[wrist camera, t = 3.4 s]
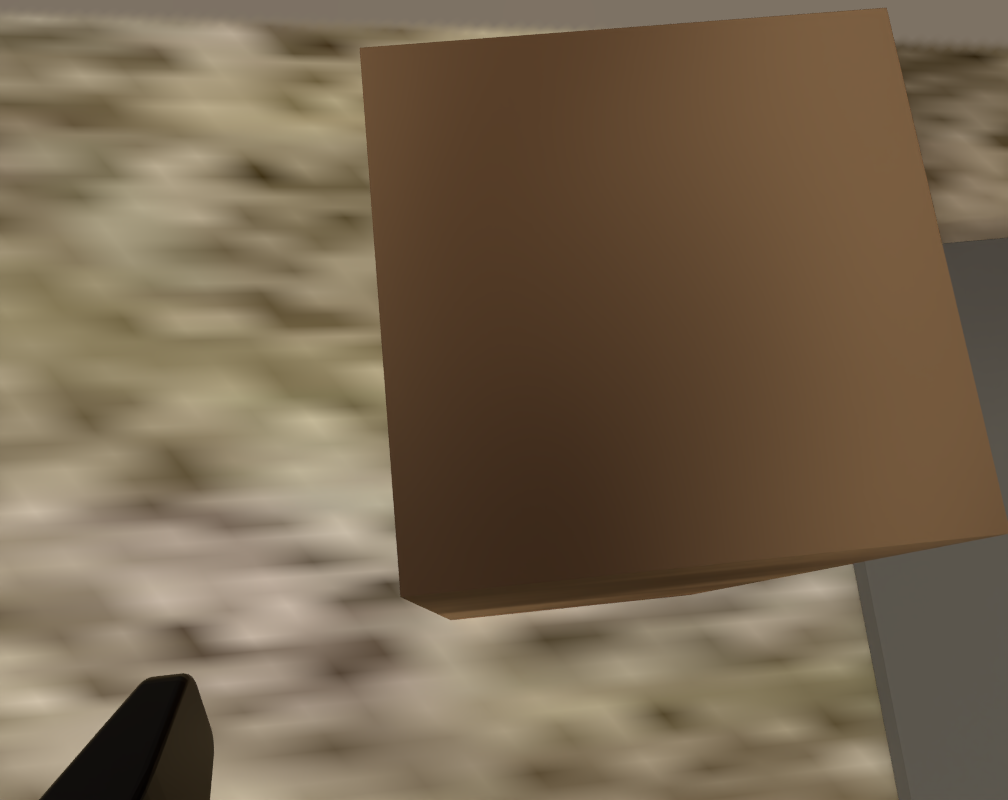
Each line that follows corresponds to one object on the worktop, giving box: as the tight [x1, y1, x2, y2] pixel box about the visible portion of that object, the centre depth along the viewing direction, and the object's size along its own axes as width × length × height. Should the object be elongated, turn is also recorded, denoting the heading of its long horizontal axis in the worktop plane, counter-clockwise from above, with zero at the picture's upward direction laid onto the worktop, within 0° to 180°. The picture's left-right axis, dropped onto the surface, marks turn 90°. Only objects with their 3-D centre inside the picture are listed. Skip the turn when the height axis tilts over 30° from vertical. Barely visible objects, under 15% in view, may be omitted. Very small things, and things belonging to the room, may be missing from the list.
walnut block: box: [360, 8, 1008, 620], centre depth 14 cm, size 5×5×12 cm
